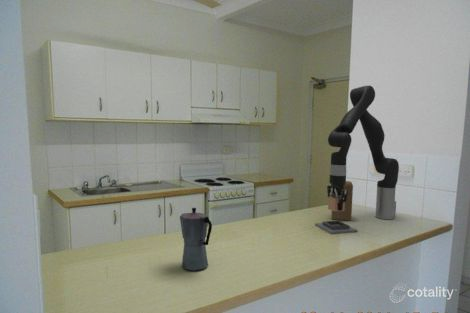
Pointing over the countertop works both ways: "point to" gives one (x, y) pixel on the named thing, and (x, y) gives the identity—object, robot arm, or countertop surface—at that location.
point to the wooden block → (348, 205)
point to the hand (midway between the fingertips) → (336, 208)
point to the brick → (334, 204)
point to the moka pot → (195, 239)
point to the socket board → (335, 227)
